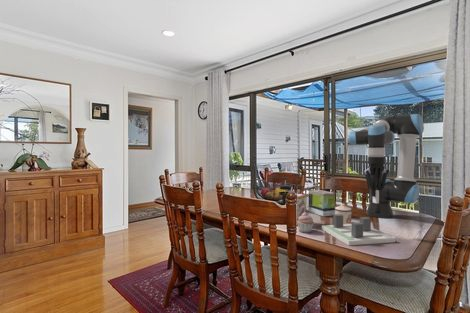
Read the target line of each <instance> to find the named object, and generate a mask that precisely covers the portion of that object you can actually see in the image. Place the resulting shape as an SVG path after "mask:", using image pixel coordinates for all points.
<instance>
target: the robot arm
mask: <svg viewBox="0 0 470 313" xmlns="http://www.w3.org/2000/svg"><path fill="white" fill-rule="evenodd" d="M424 124H425V123H424V120H423V117H422V116H421V115H420V114H419V113H413V114H412V113H410V114H399V115H389V116H387V117H384V118H381V119H379V120H377V121H375V123H374V124H372V125H370V126H367V127H365V128H363V129H360V130H358V131H357V130H355V131H354V130H353V131H350V132H349V133H348V136H347V138H348V139H347V140H348V143H349V144H350V145H354V146H355V145H356V146H359V145H367V146H368V148H367V155H368V157H367V164H368V166H367V169H363V171H362V172H363V173H364V174H363V175H365V180H366V184H367V185H366V186H367V188H368V189H369V203H368V206H367V209H366V215H367V216H370V217H374V218H381V219H390V218H391V219H392V218H393V217H394V212H393V209H392V205H391V202H397V203H405V204H415V203H416V202H417V201H418V198H419V196H420V192H421V190H420V188H421V187H420V185H419V184H418V183H417V180H416V179H415V176H414V175H415V163H416V162H415V161H416V152H417V151H416V148H417V139H418V138H420V135H421V134H423V133H424V130H425V125H424ZM395 135H396V136H397V137H398V139H399V147H398V148H399V149H398V160H397V161H398V162H397V171H396V172H397V175H396V177H395V178H394V179H393V182H392V180H391V179H390V178H389V179H388V174H389V172H390V170H388V169H386V167H385V164H386V157H385V155H386V145H387V146H388V145H390V144H393V142H394V141H395V139H396V136H395Z"/></svg>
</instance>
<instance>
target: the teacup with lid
mask: <svg viewBox="0 0 470 313" xmlns="http://www.w3.org/2000/svg"><path fill="white" fill-rule="evenodd" d="M352 211H353V210H352V208H351V207H349V206H347V205H346V203H341V204H340V205H339V206H335V214H341V215H343V224H352Z"/></svg>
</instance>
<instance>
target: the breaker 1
mask: <svg viewBox="0 0 470 313" xmlns="http://www.w3.org/2000/svg"><path fill="white" fill-rule="evenodd" d="M332 225H333V226H335V227H343V215H341V214H333V216H332Z"/></svg>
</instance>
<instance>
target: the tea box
mask: <svg viewBox="0 0 470 313" xmlns="http://www.w3.org/2000/svg"><path fill="white" fill-rule="evenodd" d="M335 207H336V192H332V191H331V192H330V191H327V190H321V189H313V190H308V212H309V213H312V214H315V215H318V216H321V217H331V216H332V217H333V214H335Z"/></svg>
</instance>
